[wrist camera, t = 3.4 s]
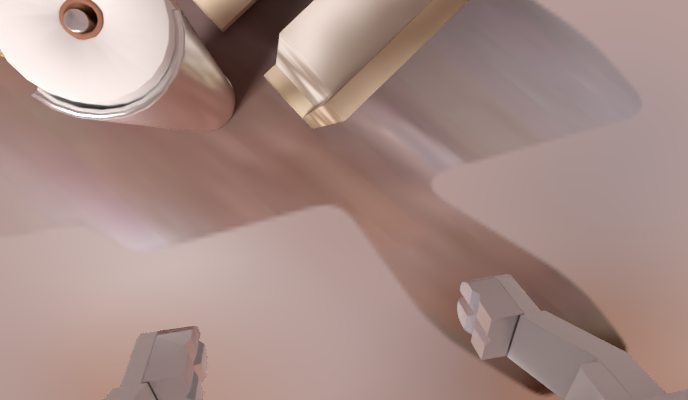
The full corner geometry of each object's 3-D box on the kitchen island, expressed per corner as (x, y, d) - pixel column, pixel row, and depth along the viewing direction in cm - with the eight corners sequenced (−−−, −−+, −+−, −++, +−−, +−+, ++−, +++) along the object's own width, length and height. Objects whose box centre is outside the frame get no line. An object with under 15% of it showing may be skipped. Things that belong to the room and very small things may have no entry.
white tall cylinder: (162, 64, 35) (-60, -97, 11) (233, 64, 37) (168, -80, 13) (170, 133, 37) (-19, 121, 12) (238, 131, 38) (187, 116, 14)
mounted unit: (264, 76, 37) (261, 28, 21) (355, -11, 38) (424, -126, 21) (314, 131, 39) (349, 125, 23) (401, 47, 40) (496, -18, 23)
